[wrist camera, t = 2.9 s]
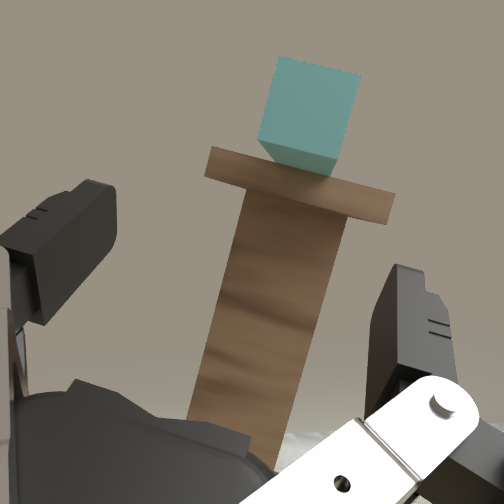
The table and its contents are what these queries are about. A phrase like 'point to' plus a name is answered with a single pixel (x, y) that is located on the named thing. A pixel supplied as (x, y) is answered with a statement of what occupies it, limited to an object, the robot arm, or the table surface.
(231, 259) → the walnut stand
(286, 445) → the table surface
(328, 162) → the teal bar
